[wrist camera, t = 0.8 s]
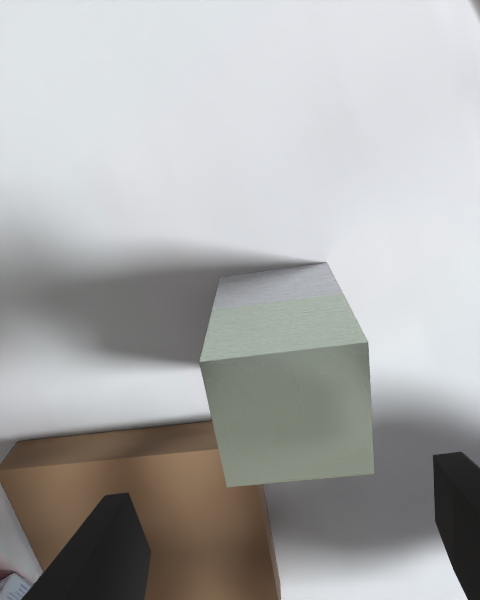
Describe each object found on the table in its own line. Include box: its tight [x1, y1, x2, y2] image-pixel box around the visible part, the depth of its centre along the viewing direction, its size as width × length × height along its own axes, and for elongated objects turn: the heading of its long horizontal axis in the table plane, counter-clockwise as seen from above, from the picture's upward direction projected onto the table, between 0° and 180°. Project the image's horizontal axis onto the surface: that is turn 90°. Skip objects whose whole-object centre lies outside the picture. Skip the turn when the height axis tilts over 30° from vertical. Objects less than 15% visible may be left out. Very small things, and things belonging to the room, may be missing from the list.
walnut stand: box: [0, 421, 281, 600], centre depth 22 cm, size 12×12×2 cm
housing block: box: [199, 263, 375, 487], centre depth 15 cm, size 4×4×7 cm
